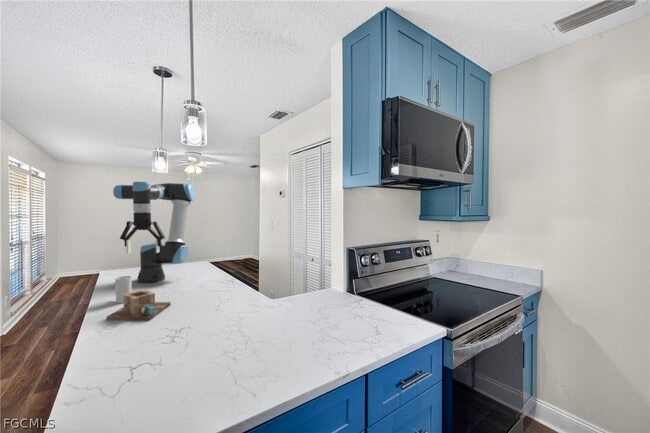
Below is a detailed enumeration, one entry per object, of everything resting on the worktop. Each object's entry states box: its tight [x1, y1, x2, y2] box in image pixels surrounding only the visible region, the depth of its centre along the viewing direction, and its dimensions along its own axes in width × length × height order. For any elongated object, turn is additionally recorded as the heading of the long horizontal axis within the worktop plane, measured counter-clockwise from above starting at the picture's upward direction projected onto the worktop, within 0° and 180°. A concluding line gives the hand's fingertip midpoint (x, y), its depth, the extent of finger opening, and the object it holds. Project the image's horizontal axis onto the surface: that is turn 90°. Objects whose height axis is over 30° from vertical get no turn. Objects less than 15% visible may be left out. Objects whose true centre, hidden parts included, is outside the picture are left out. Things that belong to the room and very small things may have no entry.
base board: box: [105, 301, 172, 321], centre depth 131 cm, size 18×18×2 cm
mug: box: [114, 275, 133, 304], centre depth 144 cm, size 10×7×12 cm, turn 66°
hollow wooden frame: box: [123, 289, 156, 315], centre depth 129 cm, size 16×9×7 cm, turn 59°
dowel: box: [141, 307, 145, 316], centre depth 123 cm, size 1×1×4 cm
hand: (143, 252), depth 148 cm, fingers open, 13 cm apart
